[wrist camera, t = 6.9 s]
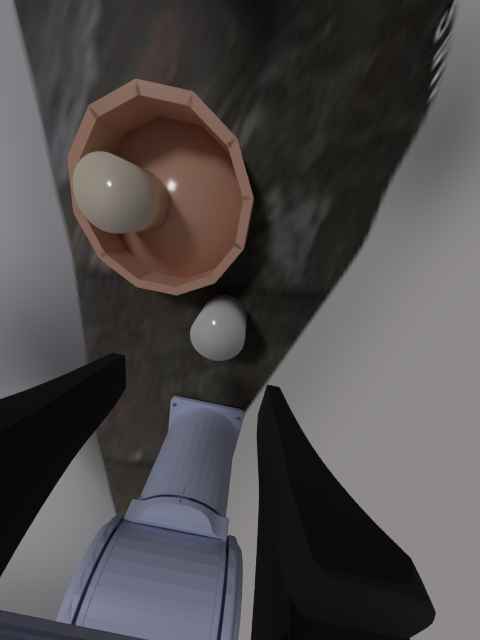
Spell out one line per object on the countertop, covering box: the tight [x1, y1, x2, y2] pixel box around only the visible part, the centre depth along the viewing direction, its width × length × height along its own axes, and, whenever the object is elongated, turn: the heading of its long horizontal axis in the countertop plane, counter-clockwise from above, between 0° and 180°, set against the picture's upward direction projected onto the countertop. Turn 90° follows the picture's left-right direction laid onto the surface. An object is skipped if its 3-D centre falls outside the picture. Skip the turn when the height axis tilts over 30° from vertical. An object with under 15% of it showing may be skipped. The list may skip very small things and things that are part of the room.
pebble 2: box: [190, 295, 247, 361], centre depth 18 cm, size 4×4×4 cm
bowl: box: [67, 79, 254, 295], centre depth 15 cm, size 11×11×3 cm
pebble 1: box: [73, 151, 170, 233], centre depth 14 cm, size 4×4×4 cm
